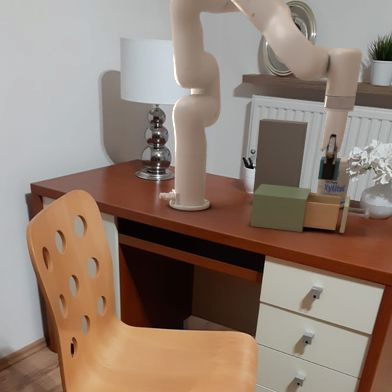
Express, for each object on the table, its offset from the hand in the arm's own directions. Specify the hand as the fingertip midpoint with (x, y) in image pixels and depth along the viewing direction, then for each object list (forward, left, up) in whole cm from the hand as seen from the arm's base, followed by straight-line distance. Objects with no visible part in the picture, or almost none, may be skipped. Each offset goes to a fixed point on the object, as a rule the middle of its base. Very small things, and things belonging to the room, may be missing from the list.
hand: (328, 176), depth 142 cm
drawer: (+3, -1, -13) cm, 14 cm away
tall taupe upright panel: (-4, +25, -14) cm, 29 cm away
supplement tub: (+14, +22, -15) cm, 30 cm away
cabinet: (-10, +6, -14) cm, 19 cm away
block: (0, 0, 0) cm, 0 cm away
